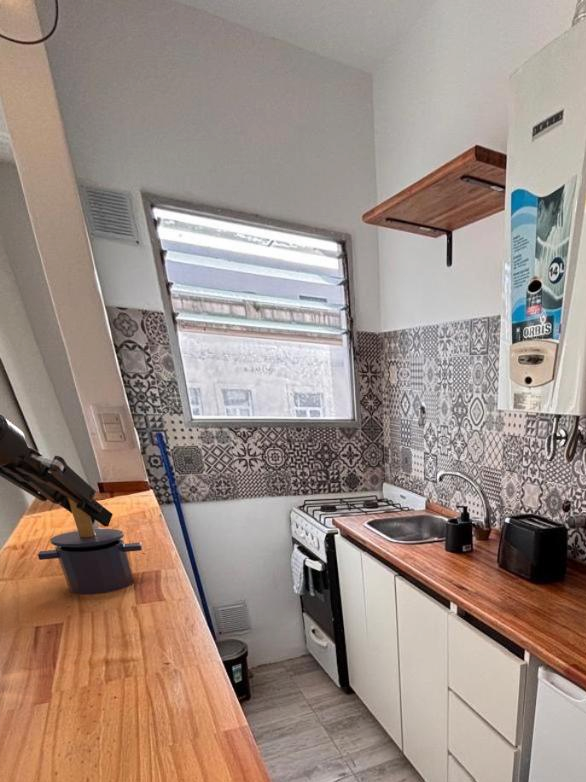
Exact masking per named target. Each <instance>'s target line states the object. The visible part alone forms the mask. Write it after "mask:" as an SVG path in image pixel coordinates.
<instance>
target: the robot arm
mask: <svg viewBox="0 0 586 782" xmlns="http://www.w3.org/2000/svg"><path fill="white" fill-rule="evenodd" d="M0 477H1V478H3V479H4V480H6V481H8V482H9V483H11V484H13V485H15V486H16V487H17V488H19V489H20V490H23V491H24V492H26V493H28V494H30V495H31V496H32V497H34V498H36V499H38V500H39V501H41V502H47V500H48V501H49V502H50V503H52V504H55V505H59V506H61V507H62V508H64V509H65V510H66V511H68V512H69V513H71V514H72V510H71V507H70V504H69V501H68V498H70V499H71V500H73V501H74V502H76V503H77V506H76V508H78V509H81V510H82V511H84V512H85V513H87V514H88V515H89V516H90V518H91V521H92V524H94V522H95V520H96V521H98V522H99V524H100V525H102V526H103V527H109V525H110V523H111V521H112V517H113V516H114V514H113V513H112V512H111V511H110V510H109V509H107V508H106V507H104V506H103V505H102V504H100V502H98V501H97V500H96V499H94V498H95V495H96V492H97V491H96V490H95V489H94V488H93V487H92V486H91V485H90V484H89V483H87V481H86V480H85V479H83V478H82V477H81V476H80V475H79V474H77V473H76V472H75V471H74V470H73V469H72V468H71V467H70V466H69V465H68V464H67V462H66V460H65V458H63V457H61V456H59V455H54V457H53V458H50V457H46V456H44V455H43V454H42V453H41V452H40V451H38V450H37V449H34V448H33V447H32V446H31V447H30V446H29V445H28V443H27V440H26V437H25V434H24V432H23V431H22V430H21V429H20V428H19V427H17V426H16V425H14V424H13V423H12V422H11V421H10V420H8V419H7V418H6V417H5V416H3V415H2V414H0ZM67 497H68V498H67Z"/></svg>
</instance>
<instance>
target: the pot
mask: <svg viewBox="0 0 586 782" xmlns="http://www.w3.org/2000/svg"><path fill="white" fill-rule="evenodd" d="M142 550H143V545H142V542H140V541H139V542H131V543H125V540H123V539H122V538H121V539H119V540H116V541H113V542H111V543H108V544H105V545H100V546H94V547H84V548H71V547H61V546H56V547H55V549H50V550H48V549H47V550H40V551H39V552H38V553H37V557H38V560H39V561H42V560H44V561H45V560H52V559H53V560H54V559H58V561H59V564H60V567H61V570H62V573H63V576H64V579H65V582H66V584H67V588H68V590H69V591H70V592H71V594H77V595H97V594H106V593H111V592H115V591H119V590H122V589H125V588H128V587H130V586H131V585H133V584H134V583H135V577H134V573H133V570H132V567H131V564H130V560H129V556H128V553H129V552H139V551H142Z"/></svg>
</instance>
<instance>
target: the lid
mask: <svg viewBox="0 0 586 782" xmlns="http://www.w3.org/2000/svg"><path fill="white" fill-rule="evenodd" d="M67 498H68V497H67ZM68 501H69V504H70V507H71V510H72V513H71V514H72V517H73V520H74V523H76V524H75V527H76V526H77V527H76V530H78V531H76V530H74V531H68V532H64V533H61V534H57V535H54V536H53V537H51V538H50V540H49V541H50V544H51V545H53V546H56V547H57V546H61V547H71V548H84V547H94V546H100V545H105V544H108V543H111V542H113V541H116V540H119V539H121V540H122V539H123V538H124V537H125V533H124V532H123V531H122V530H120V529H115V528H103V529H94V528H93V524H92V521H91V518H90V516H89V515H88V514H87V513H85V512H84V511H82V510H81V509H78V508H76V506H77V503H76V502H74V501H73V500H71V499H70V498H68Z"/></svg>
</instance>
